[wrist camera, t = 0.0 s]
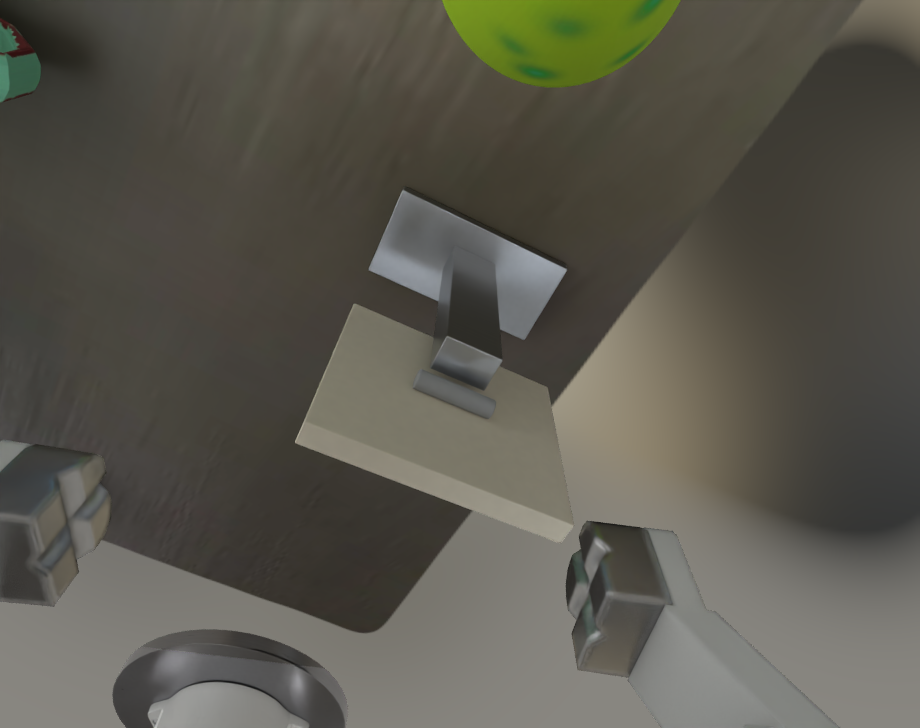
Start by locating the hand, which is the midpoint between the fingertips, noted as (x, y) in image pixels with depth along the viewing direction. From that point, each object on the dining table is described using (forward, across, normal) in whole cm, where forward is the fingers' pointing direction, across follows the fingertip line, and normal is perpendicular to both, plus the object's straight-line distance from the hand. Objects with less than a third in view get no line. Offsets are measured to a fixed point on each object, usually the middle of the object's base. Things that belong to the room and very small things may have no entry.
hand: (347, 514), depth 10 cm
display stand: (+32, +3, -7) cm, 32 cm away
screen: (+22, +2, -9) cm, 24 cm away
